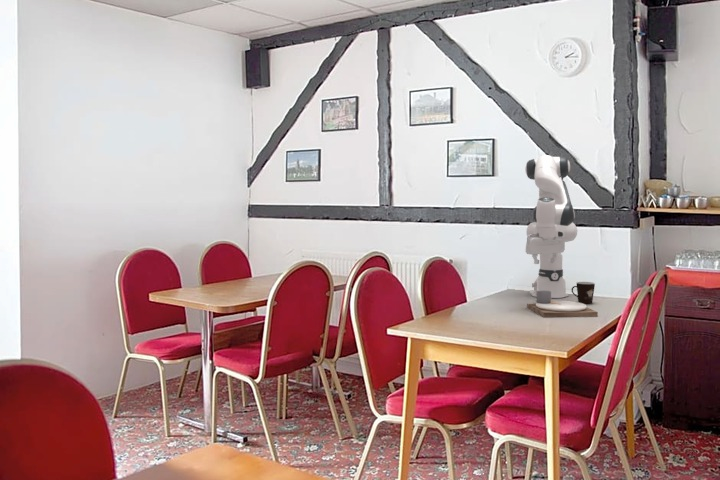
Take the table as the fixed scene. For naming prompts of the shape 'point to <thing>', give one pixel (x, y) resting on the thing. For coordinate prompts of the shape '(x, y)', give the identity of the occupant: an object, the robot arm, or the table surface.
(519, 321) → the table surface
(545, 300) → the dial
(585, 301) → the coffee mug
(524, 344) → the table surface
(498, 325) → the table surface
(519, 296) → the table surface
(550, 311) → the base
